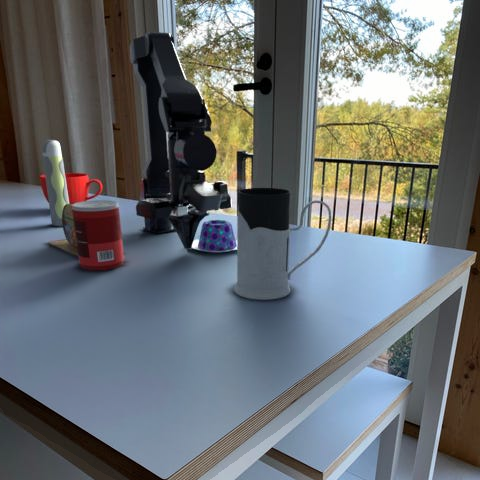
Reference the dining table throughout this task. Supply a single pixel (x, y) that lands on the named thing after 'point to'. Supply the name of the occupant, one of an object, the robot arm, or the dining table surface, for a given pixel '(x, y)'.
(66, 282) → the dining table surface
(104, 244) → the canned food
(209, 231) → the pudding
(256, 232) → the glass holder
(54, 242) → the cork coaster
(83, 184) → the ceramic cup
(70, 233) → the tin
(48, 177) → the spray bottle
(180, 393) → the dining table surface
